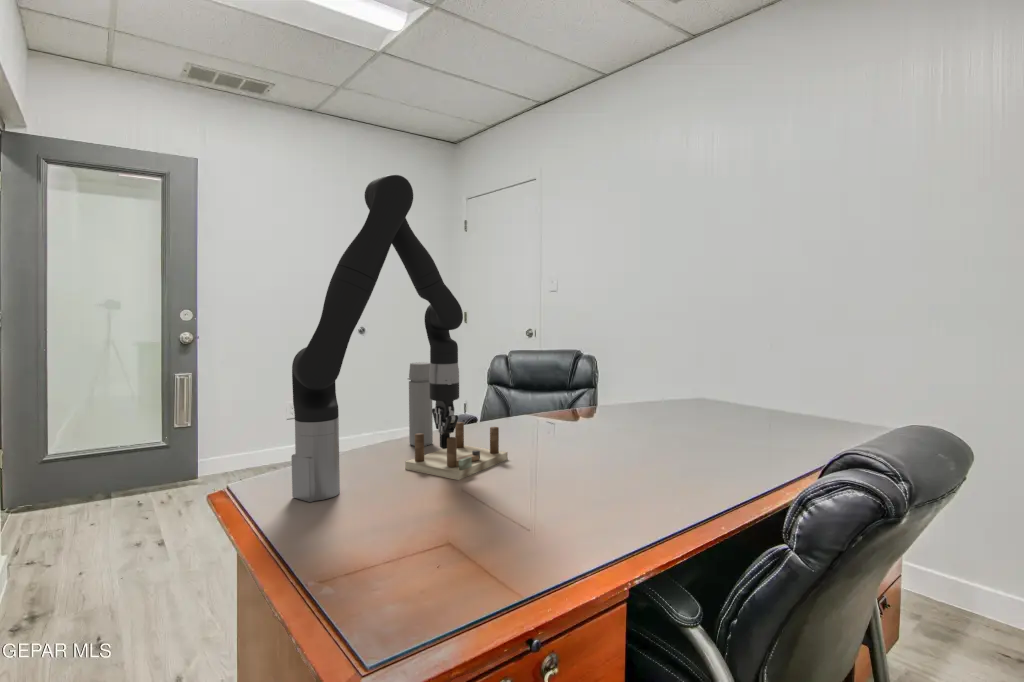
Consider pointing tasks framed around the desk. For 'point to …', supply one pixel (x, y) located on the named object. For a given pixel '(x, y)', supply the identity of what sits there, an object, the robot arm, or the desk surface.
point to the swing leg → (452, 453)
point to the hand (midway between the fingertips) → (444, 447)
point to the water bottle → (420, 403)
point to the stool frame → (438, 459)
